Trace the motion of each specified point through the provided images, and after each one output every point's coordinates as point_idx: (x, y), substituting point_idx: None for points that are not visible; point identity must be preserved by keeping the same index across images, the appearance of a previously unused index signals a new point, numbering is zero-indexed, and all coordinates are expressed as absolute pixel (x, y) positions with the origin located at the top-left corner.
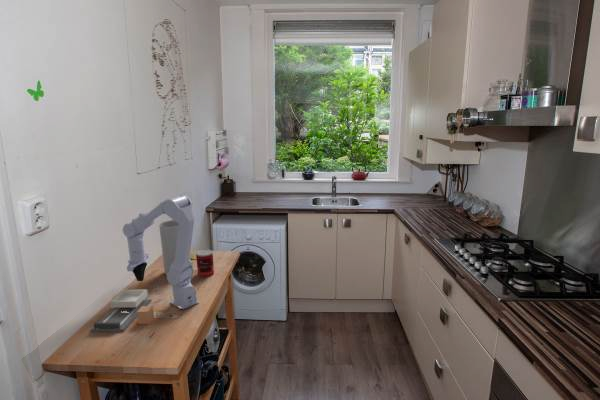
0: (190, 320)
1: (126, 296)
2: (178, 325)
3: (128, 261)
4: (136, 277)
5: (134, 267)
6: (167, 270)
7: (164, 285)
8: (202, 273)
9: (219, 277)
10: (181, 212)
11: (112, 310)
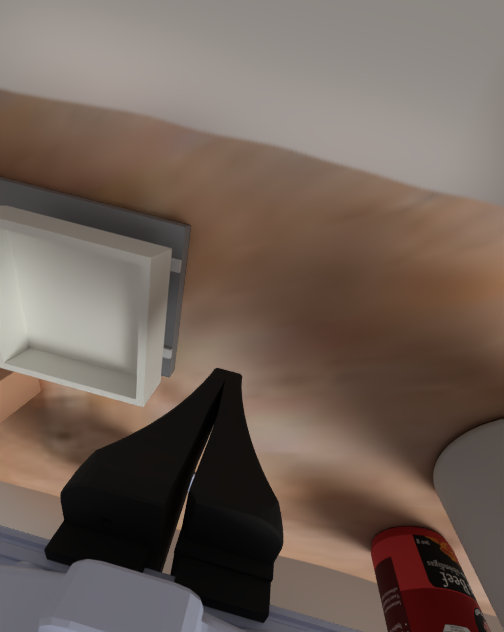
0: (43, 476)
1: (129, 277)
2: (12, 452)
3: (46, 608)
4: (199, 389)
5: (14, 548)
6: (498, 465)
7: (348, 411)
8: (380, 554)
9: (341, 566)
10: None
11: (48, 204)
